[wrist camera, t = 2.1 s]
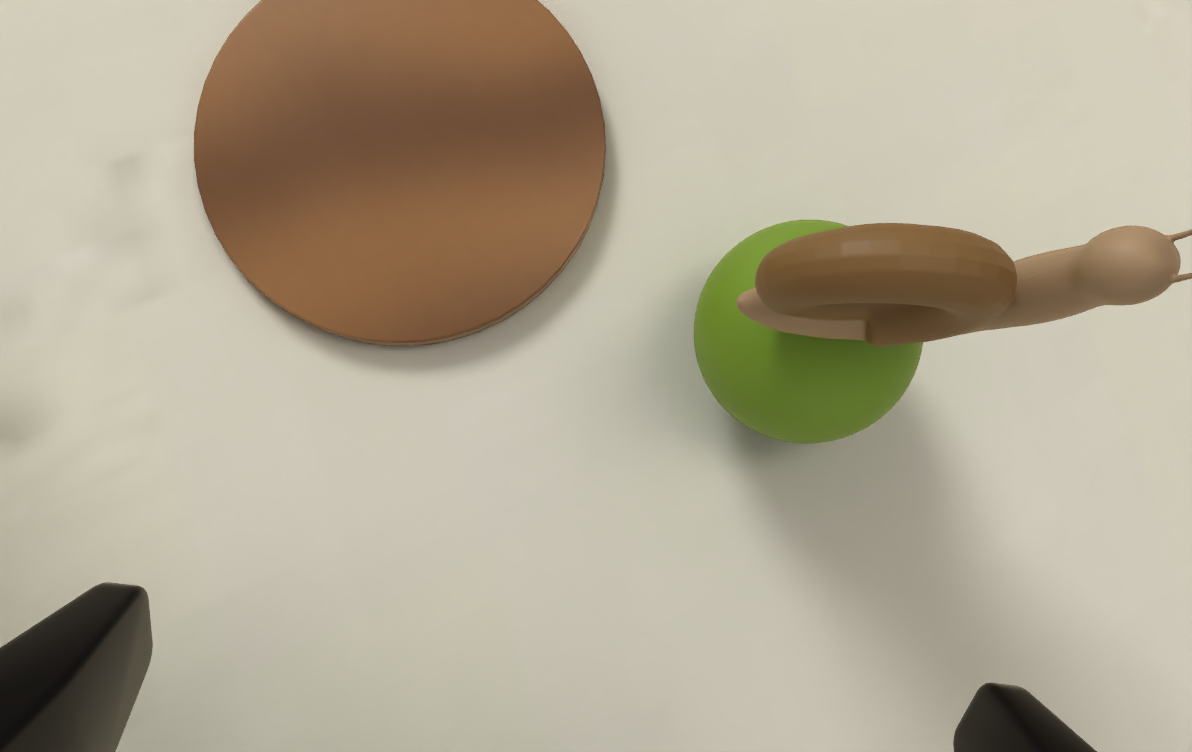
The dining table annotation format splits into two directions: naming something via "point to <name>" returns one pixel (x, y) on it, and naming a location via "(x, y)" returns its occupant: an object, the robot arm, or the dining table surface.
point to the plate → (400, 160)
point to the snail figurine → (886, 311)
